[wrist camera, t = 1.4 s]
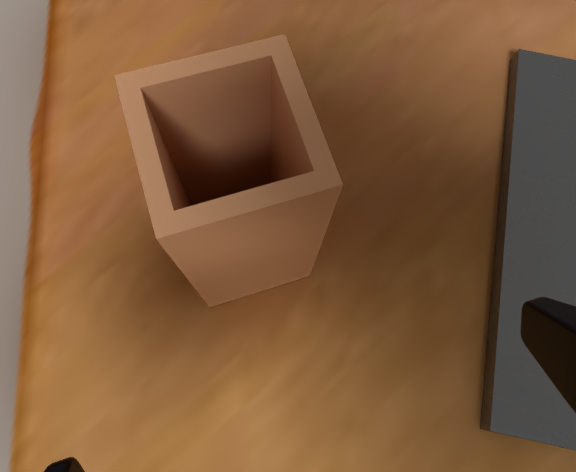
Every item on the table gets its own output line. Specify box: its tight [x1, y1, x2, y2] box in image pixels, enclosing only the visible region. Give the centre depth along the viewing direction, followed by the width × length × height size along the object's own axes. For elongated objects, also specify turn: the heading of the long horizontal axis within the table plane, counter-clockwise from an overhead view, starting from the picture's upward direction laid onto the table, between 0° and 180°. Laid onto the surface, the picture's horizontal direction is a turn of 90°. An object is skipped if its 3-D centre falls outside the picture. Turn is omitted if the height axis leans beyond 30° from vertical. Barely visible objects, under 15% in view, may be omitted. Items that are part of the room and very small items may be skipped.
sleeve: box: [114, 34, 343, 307], centre depth 18 cm, size 5×5×11 cm
